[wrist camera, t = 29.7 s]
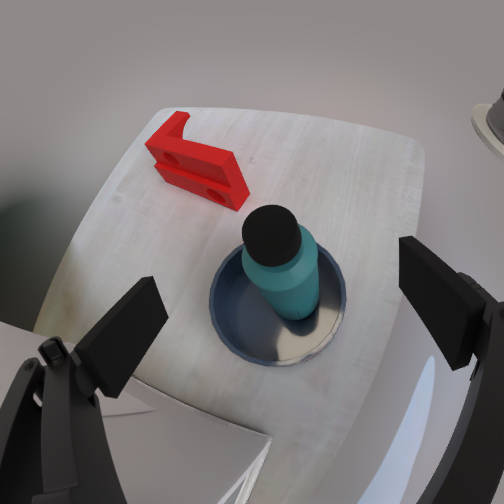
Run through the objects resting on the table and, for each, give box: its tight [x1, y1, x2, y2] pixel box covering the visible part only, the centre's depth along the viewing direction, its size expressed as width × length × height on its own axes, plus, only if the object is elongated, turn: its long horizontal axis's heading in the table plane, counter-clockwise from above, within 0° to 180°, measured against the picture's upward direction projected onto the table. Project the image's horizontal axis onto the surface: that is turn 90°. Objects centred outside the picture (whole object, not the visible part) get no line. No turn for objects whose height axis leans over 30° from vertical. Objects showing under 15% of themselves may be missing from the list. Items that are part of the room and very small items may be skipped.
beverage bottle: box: [242, 205, 320, 321], centre depth 27 cm, size 6×7×20 cm
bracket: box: [145, 111, 250, 212], centre depth 45 cm, size 18×10×10 cm
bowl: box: [209, 243, 347, 367], centre depth 34 cm, size 16×16×6 cm
